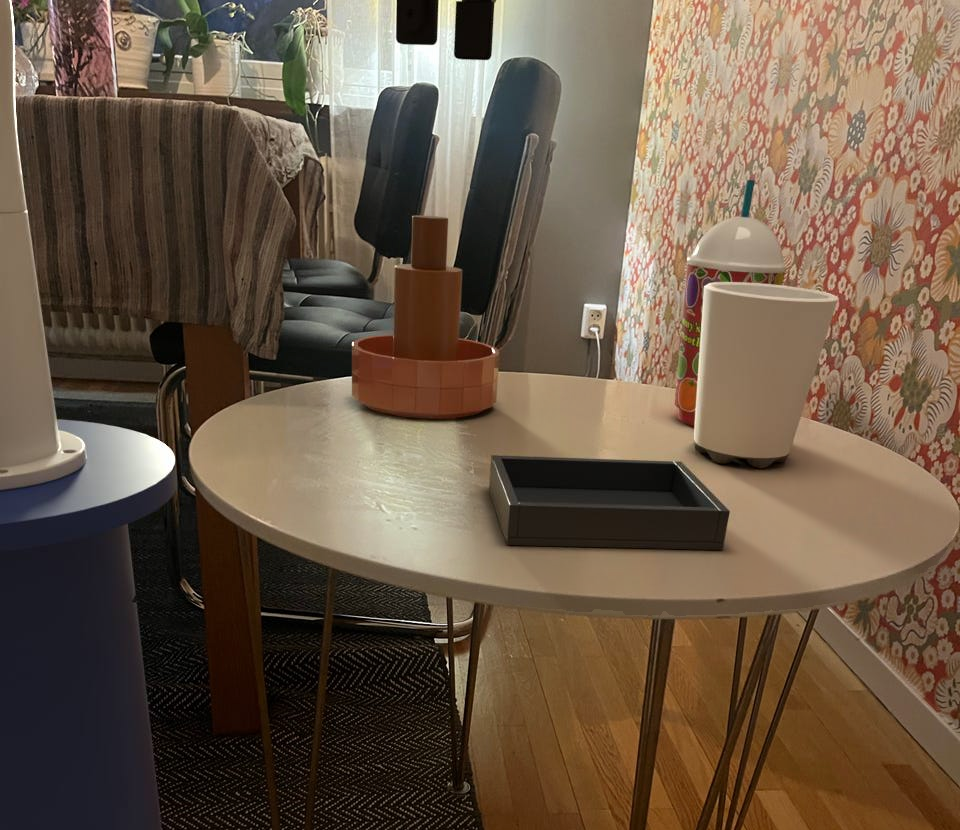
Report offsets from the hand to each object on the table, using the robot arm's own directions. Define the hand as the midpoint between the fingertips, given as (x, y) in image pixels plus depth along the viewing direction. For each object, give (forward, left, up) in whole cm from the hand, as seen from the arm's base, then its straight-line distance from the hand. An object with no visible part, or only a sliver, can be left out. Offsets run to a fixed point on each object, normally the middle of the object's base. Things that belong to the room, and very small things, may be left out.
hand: (445, 52), depth 74 cm
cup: (+24, -14, -28) cm, 39 cm away
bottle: (-1, 0, -27) cm, 27 cm away
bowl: (-1, 0, -28) cm, 28 cm away
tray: (+9, -30, -28) cm, 42 cm away
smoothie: (+25, -3, -28) cm, 38 cm away
